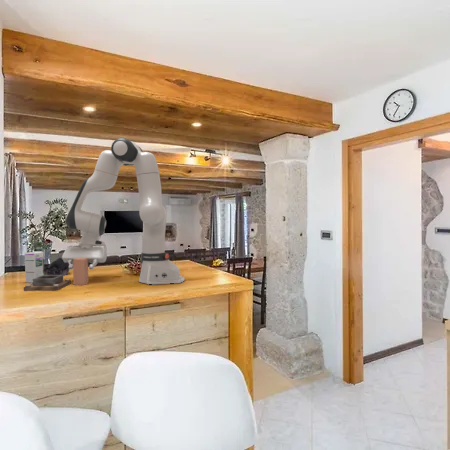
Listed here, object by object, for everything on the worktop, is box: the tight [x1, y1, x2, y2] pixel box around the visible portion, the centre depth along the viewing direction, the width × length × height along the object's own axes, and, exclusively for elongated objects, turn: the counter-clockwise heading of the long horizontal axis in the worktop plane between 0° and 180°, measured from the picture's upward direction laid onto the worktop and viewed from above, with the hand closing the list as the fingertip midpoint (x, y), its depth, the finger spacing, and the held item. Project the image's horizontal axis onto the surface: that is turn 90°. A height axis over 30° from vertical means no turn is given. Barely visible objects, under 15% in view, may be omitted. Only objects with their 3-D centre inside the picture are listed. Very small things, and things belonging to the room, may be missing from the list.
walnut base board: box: [23, 275, 72, 292], centre depth 144 cm, size 14×14×4 cm
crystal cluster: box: [44, 257, 70, 277], centre depth 173 cm, size 13×14×10 cm
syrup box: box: [24, 250, 45, 284], centre depth 155 cm, size 6×6×14 cm
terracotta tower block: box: [72, 258, 89, 286], centre depth 150 cm, size 5×5×12 cm
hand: (80, 268), depth 151 cm, fingers open, 8 cm apart
